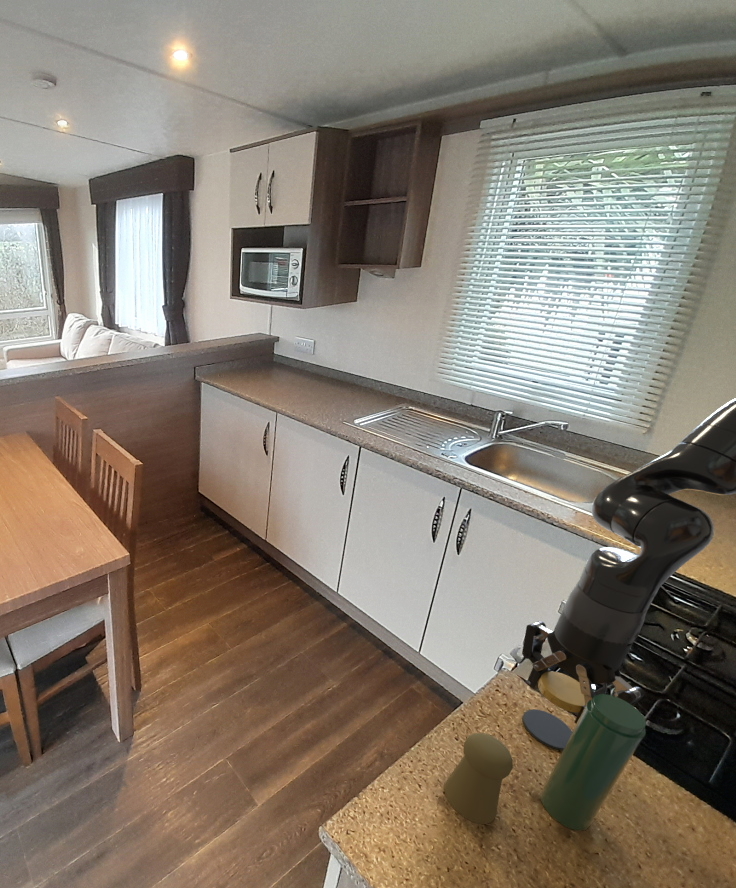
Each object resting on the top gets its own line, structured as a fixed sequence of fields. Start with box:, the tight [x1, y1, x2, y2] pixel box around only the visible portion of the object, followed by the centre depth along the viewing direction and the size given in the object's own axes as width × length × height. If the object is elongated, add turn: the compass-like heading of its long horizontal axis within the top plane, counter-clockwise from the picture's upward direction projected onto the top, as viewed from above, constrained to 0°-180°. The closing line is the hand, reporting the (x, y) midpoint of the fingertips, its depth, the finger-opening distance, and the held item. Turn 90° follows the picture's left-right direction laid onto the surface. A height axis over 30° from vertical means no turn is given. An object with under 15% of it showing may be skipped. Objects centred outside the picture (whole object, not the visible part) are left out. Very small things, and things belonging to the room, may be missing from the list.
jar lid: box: [538, 671, 585, 714], centre depth 71 cm, size 6×6×2 cm
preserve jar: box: [539, 693, 647, 832], centre depth 60 cm, size 5×5×19 cm
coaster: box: [521, 709, 573, 751], centre depth 74 cm, size 6×6×1 cm
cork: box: [443, 732, 514, 825], centre depth 63 cm, size 6×6×11 cm
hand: (558, 704), depth 72 cm, fingers closed on jar lid, 5 cm apart
